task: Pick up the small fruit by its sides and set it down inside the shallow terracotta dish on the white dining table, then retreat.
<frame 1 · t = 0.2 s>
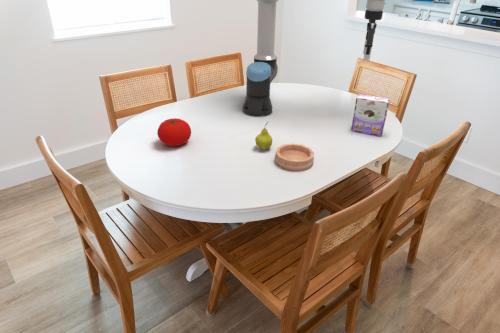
hand: (365, 57, 177), 28 cm above the table, fingers open, 13 cm apart
fruit: (263, 149, 156), on the table
tomato: (175, 143, 159), on the table
dish: (294, 161, 147), on the table
candy box: (366, 132, 172), on the table
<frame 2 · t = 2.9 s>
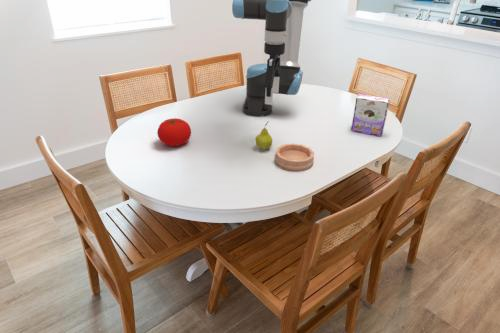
hand: (271, 98, 146), 21 cm above the table, fingers open, 13 cm apart
nothing on the table moved.
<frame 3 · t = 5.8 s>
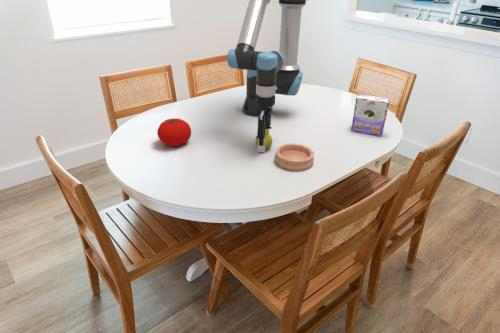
hand: (263, 147, 156), 1 cm above the table, fingers closed on fruit, 7 cm apart
fruit: (263, 148, 156), on the table, touching gripper
everything else where it was.
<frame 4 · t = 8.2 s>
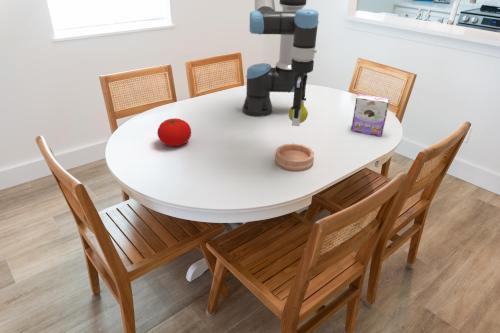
hand: (297, 121, 138), 17 cm above the table, fingers closed on fruit, 7 cm apart
fruit: (296, 123, 139), point 16 cm above the table, touching gripper
everything else where it was.
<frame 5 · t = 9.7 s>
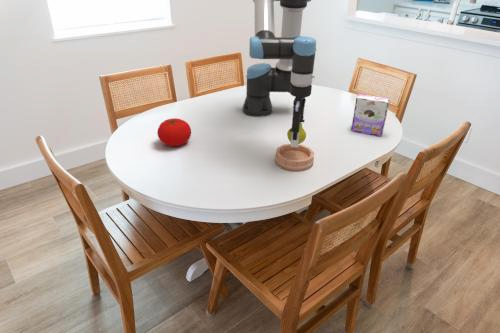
hand: (295, 142, 143), 8 cm above the table, fingers closed on fruit, 7 cm apart
fruit: (295, 143, 143), point 8 cm above the table, touching gripper
everything else where it was.
when the fingers open (4 cm above the table, at t = 11.0 s): fruit drops 1 cm, resting on dish.
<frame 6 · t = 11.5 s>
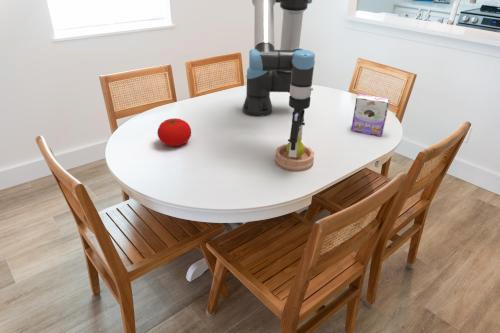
hand: (295, 148, 144), 6 cm above the table, fingers open, 13 cm apart
fruit: (294, 157, 146), point 2 cm above the table, touching dish
everything else where it was.
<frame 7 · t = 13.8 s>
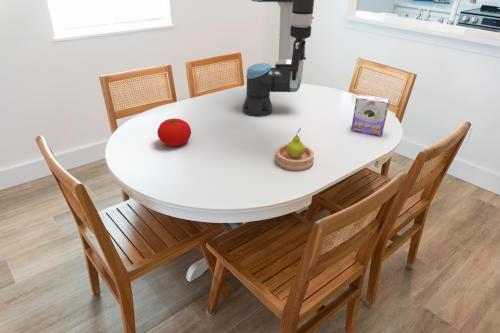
hand: (296, 81, 146), 27 cm above the table, fingers open, 13 cm apart
nothing on the table moved.
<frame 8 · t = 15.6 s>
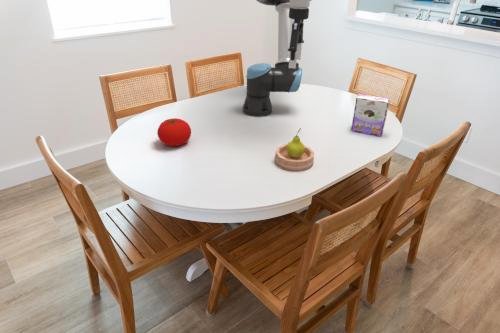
hand: (294, 63, 152), 32 cm above the table, fingers open, 13 cm apart
nothing on the table moved.
at the end: fruit 0.1 cm from the dish (horizontally); fruit point 1.8 cm above the table; the gripper is holding nothing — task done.
